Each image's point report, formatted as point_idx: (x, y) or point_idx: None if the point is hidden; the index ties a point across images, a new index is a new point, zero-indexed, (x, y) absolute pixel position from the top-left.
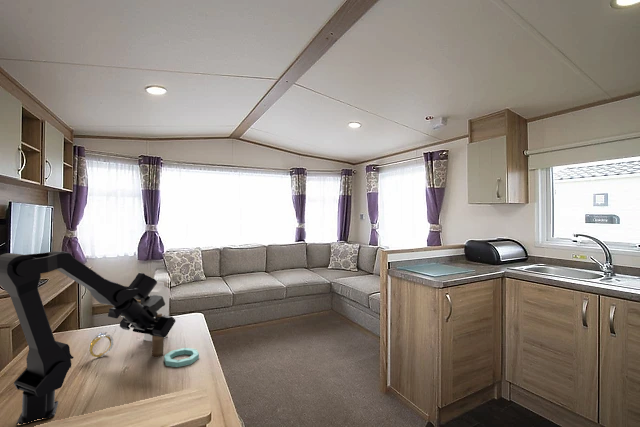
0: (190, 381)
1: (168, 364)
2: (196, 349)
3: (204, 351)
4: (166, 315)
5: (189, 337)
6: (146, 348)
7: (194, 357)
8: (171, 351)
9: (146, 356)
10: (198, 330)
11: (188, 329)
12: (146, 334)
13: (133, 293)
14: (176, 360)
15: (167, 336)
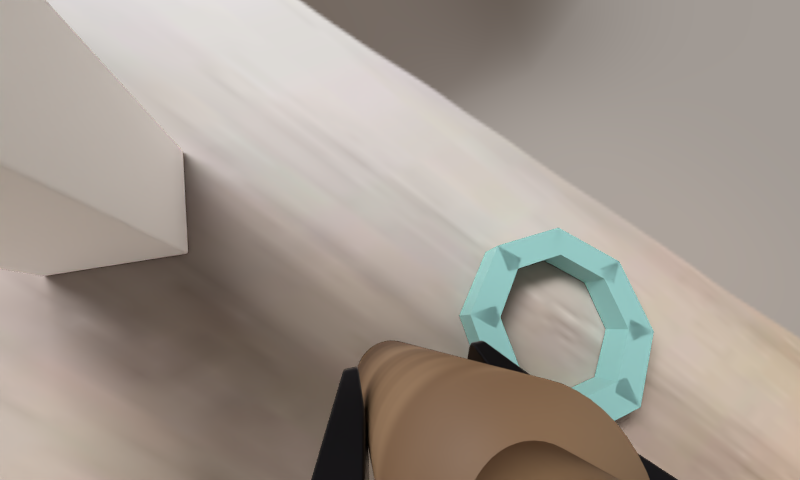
0: (776, 451)
1: None
2: (562, 230)
3: (550, 198)
4: (17, 4)
5: (329, 107)
6: (216, 356)
7: (636, 302)
8: (479, 330)
9: None
10: (288, 19)
11: (215, 25)
12: (28, 261)
13: None
14: (614, 394)
15: (182, 154)
